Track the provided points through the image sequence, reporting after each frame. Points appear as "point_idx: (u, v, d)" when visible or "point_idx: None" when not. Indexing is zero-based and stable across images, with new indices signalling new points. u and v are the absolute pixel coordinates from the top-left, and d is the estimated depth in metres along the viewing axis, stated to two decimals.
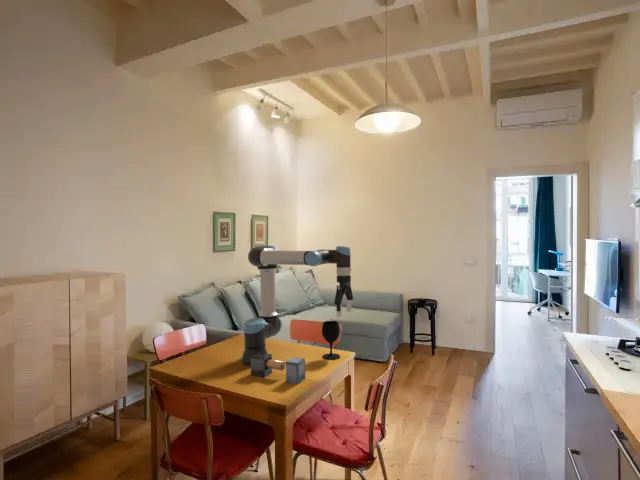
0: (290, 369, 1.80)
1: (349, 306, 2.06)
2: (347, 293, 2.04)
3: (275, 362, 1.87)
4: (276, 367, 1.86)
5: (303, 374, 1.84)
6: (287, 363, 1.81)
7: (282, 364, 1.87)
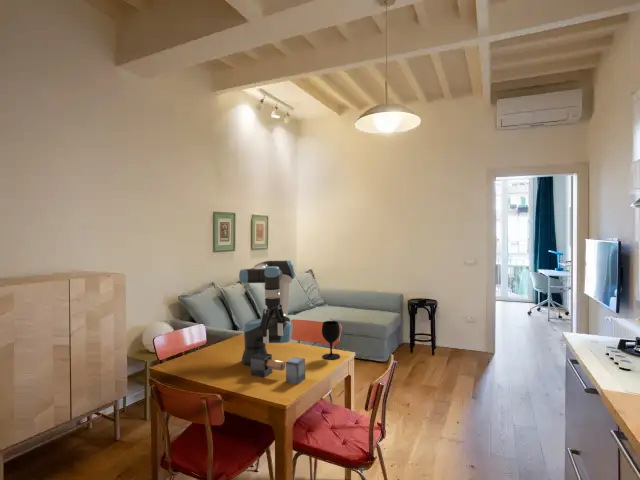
0: (290, 369, 1.80)
1: (280, 329, 1.95)
2: (277, 316, 1.92)
3: (275, 362, 1.87)
4: (276, 367, 1.86)
5: (303, 374, 1.84)
6: (287, 363, 1.81)
7: (282, 364, 1.87)
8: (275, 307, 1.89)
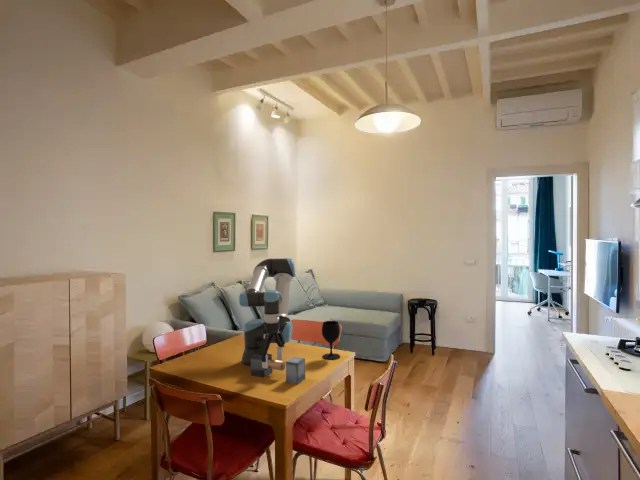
0: (290, 369, 1.80)
1: (280, 354, 1.94)
2: (277, 340, 1.92)
3: (275, 362, 1.87)
4: (276, 367, 1.86)
5: (303, 374, 1.84)
6: (287, 363, 1.81)
7: (282, 364, 1.87)
8: (274, 331, 1.89)
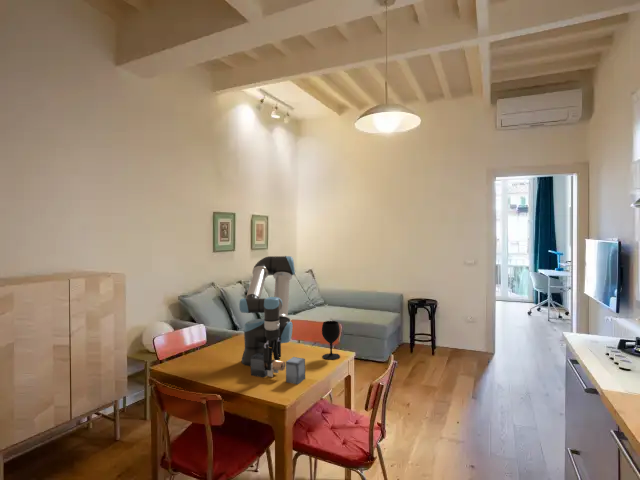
0: (290, 369, 1.80)
1: None
2: (275, 349, 1.91)
3: (275, 362, 1.87)
4: (276, 367, 1.86)
5: (303, 374, 1.84)
6: (287, 363, 1.81)
7: (282, 364, 1.87)
8: None
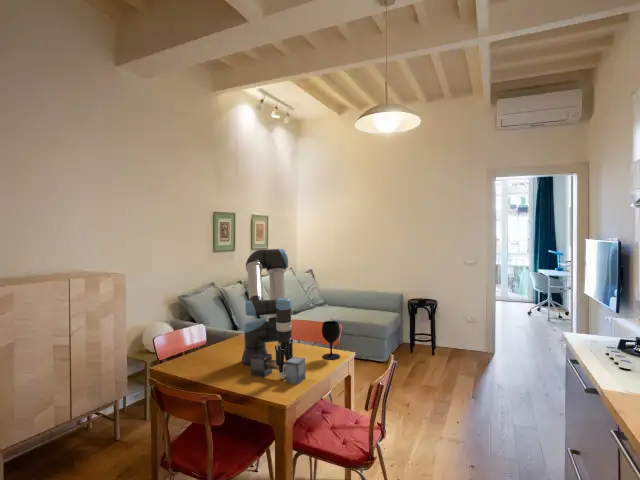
0: (290, 369, 1.80)
1: None
2: (286, 351, 1.87)
3: None
4: None
5: (303, 374, 1.84)
6: (287, 363, 1.81)
7: None
8: None
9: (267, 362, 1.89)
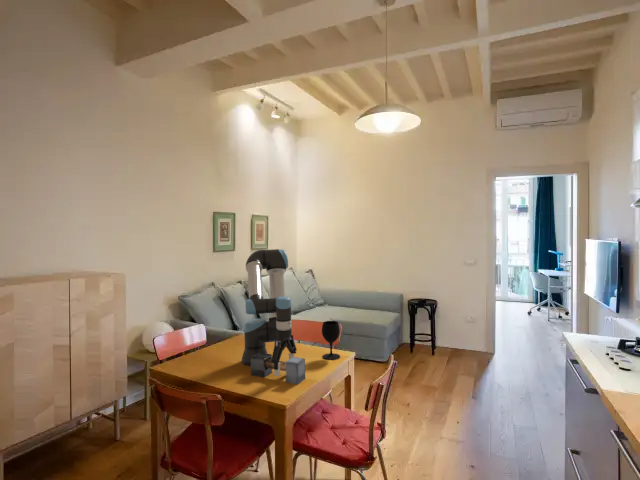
0: (290, 369, 1.80)
1: None
2: (289, 347, 1.90)
3: None
4: None
5: (303, 374, 1.84)
6: (287, 363, 1.81)
7: None
8: (286, 338, 1.86)
9: (267, 362, 1.89)
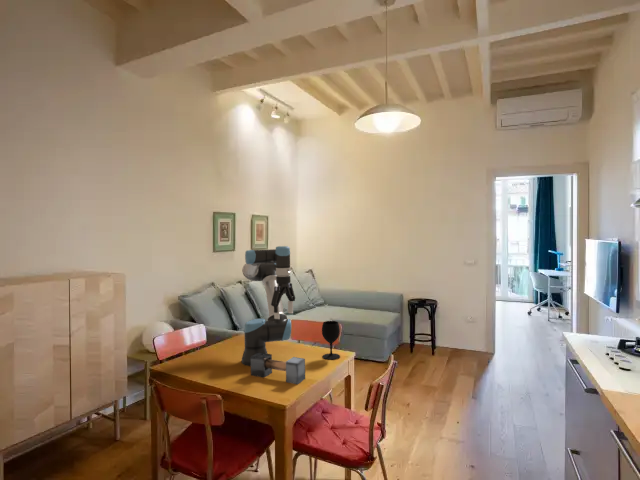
0: (290, 369, 1.80)
1: (291, 307, 2.03)
2: (288, 294, 2.00)
3: None
4: None
5: (303, 374, 1.84)
6: (287, 363, 1.81)
7: None
8: (286, 285, 1.97)
9: (267, 362, 1.89)
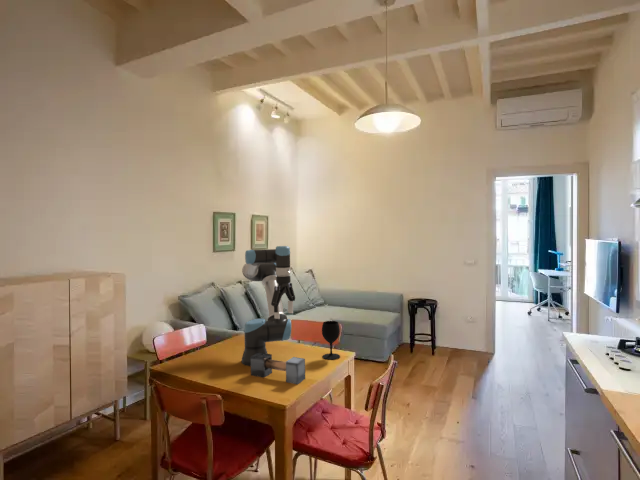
0: (290, 369, 1.80)
1: (291, 307, 2.03)
2: (288, 294, 2.00)
3: None
4: None
5: (303, 374, 1.84)
6: (287, 363, 1.81)
7: None
8: (286, 285, 1.97)
9: (267, 362, 1.89)
